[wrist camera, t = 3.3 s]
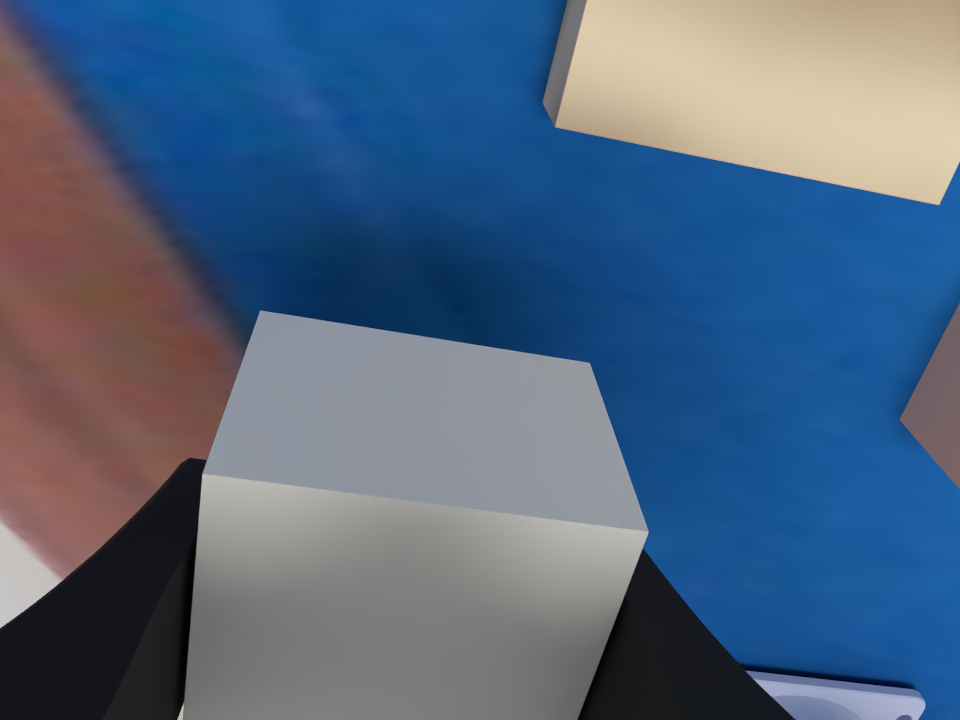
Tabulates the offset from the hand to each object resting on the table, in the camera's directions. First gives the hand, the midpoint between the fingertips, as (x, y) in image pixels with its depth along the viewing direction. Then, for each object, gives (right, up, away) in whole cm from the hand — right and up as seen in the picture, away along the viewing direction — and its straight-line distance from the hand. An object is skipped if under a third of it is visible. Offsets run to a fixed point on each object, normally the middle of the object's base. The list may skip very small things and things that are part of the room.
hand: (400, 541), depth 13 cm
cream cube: (0, +1, +1) cm, 2 cm away
